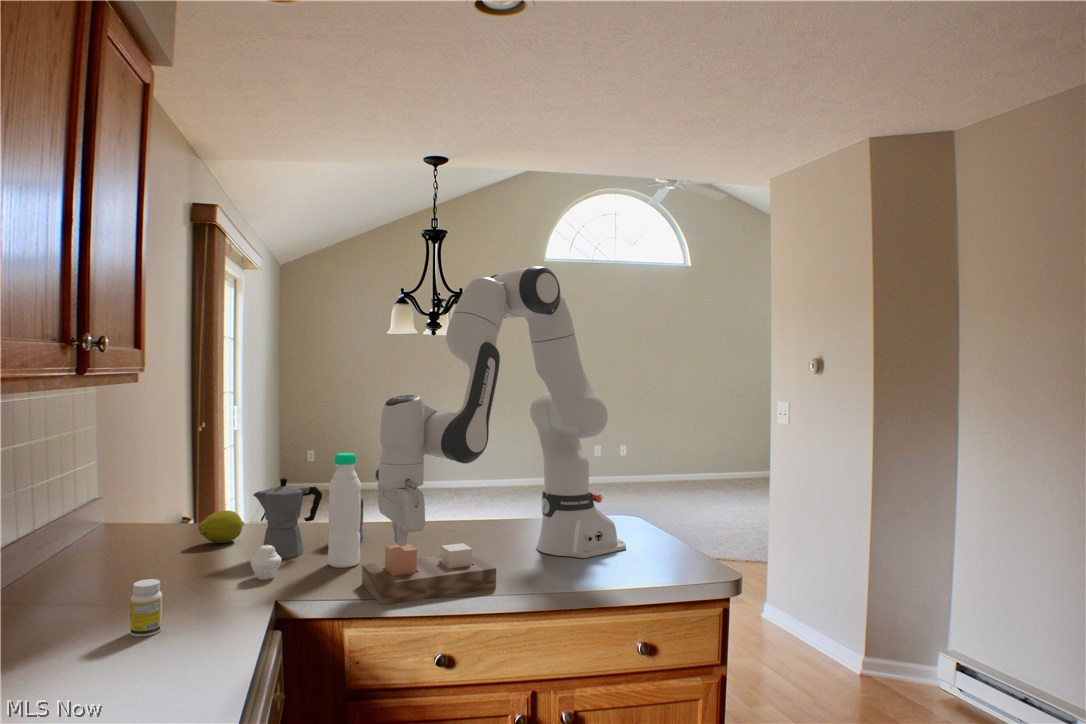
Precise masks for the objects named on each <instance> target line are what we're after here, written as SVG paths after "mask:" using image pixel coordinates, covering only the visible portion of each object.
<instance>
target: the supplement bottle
mask: <svg viewBox="0 0 1086 724" xmlns="http://www.w3.org/2000/svg"><path fill="white" fill-rule="evenodd" d="M160 590H161V581H160V579H157V578H156V579H155V578H152V579H151V578H150V579H141V580H138V581H134V583H133V586H132V593H133V594H132V596H130V634H131V636H133V637H137V638H139V637H140V638H141V637H143V638H144V637H150V636H154V635H157V634H159V633H160V632H161V631H162V629H163V592H162V591H160Z"/></svg>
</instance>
